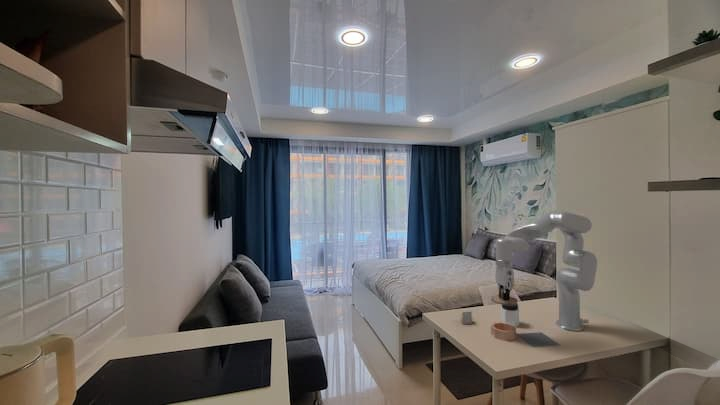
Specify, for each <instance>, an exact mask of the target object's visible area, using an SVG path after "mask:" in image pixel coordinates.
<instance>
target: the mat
mask: <svg viewBox="0 0 720 405" xmlns="http://www.w3.org/2000/svg"><path fill="white" fill-rule="evenodd" d="M516 336H518V337H519V338H520V339H522V340H523V341H524V342H526V343H527V344H528V345H529V346H530V347H532V348H537V347H538V348H540V347H554V346H555V347H556V346H561V344H560V343H558V342H557V341H556V340H554V339H552V338H551V337H549V336H548V335H547V334H545V333H543V332H541V331H539V332H524V333H523V332H522V333H521V332H520V333H516Z"/></svg>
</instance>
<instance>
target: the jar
mask: <svg viewBox="0 0 720 405" xmlns="http://www.w3.org/2000/svg"><path fill="white" fill-rule="evenodd" d="M500 318H501V320H500V322H503V323H507V324H511V325H513V326H514V327H515V328H517V327H519V326H520V309H519V304H518V303H517V304H515V305H503V304H501V307H500Z"/></svg>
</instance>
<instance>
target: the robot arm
mask: <svg viewBox="0 0 720 405" xmlns="http://www.w3.org/2000/svg"><path fill="white" fill-rule="evenodd" d="M592 226H593V225H592V222H591V220H590V218H588V217H586V216H583V215H578V214H575V213H572V212H569V211H568V212H567V211H557V210H556V211H548V212H546V213H544V214H543V215H542V216H540V217H539V218H538V219H536V220H535V221H533V222H532V223H530V224H526V225H524V226H522V227H518V228H515V229H514V230H512V231H510V232H509V233H507V234H505V236H503V237H499V238H497V239H496V240H495V282H496V283H497V286H498V295H499V298H501V288H504V292H503V300H510V297H511V294H510V293H511V291H512V290H513V289H514V288H513V287H515V274H514V268H513V253H516V254H524V253H526V252H527V251H529V249H530V243H529V242H528V241H527V240H538V239H541V238H543V237H545V236H546V235H548V234H549V233H550V232H552V231H553V230H554V229H556V228H557V229H559V230H560V231H561V233H562V234H563V237H564V243H563V245H564V246H563V250H562V251H563V252H562V262H563V263H564V264H565V265H566V266H569V267H573V268H574V269H573V268H569V267H562V268H559V269H558V270H557V271H556V274H555V278H556V282H557V287H558V320H556V321H555V325H556V326H557V327H560V328H562V329H563V330H566V331H571V332H581V331H584V330H585V328H584V325H583V324H589V323H590V322H589V319H587V318H586V319H583V318H582V317H581V294H580V291H584V292H588V291H589V292H590V291H591V290H592V288H594V284H595V281H596V276H597V274H596V273H597V269H598V259H597V256H596V254H594V253H593V252H591V251H588V250H585V249H584V243H585V240H584V236H583V235H582V234H587V233H589V232H590V231H591V229H592ZM575 268H578V270H577V269H575ZM579 290H580V291H579Z"/></svg>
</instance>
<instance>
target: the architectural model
mask: <svg viewBox="0 0 720 405" xmlns="http://www.w3.org/2000/svg"><path fill="white" fill-rule="evenodd" d="M472 313H473V312H472V311H468V310H465V311H462V312H461V315H460V316H459V318H460V324H461V325H472V324H473V319H474V317H473V314H472Z"/></svg>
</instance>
